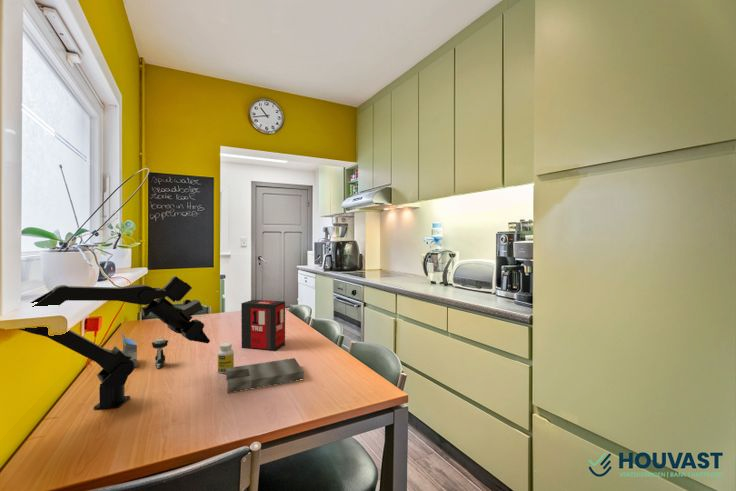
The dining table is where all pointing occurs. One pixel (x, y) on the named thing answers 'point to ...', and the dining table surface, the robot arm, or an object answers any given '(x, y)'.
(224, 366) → the supplement bottle
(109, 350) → the robot arm
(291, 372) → the notched board
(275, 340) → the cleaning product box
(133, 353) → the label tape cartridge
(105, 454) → the dining table surface
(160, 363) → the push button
